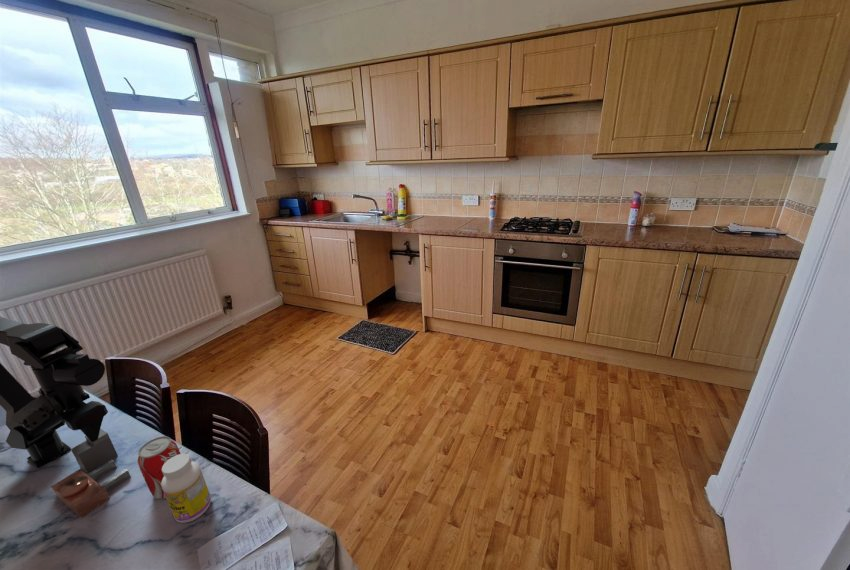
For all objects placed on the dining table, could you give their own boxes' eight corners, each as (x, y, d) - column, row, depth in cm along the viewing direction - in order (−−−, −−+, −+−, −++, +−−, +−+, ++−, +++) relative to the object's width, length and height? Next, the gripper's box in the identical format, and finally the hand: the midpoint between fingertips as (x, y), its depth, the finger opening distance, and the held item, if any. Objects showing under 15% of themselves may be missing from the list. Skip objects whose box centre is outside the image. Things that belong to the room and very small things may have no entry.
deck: (56, 496, 78) (48, 483, 76) (110, 462, 86) (104, 450, 85) (81, 518, 72) (73, 504, 71) (135, 480, 81) (129, 467, 79)
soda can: (171, 504, 74) (153, 461, 70) (144, 499, 76) (125, 457, 72) (197, 476, 81) (182, 435, 77) (172, 472, 82) (156, 432, 78)
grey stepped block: (80, 468, 85) (68, 445, 82) (110, 450, 90) (99, 428, 87) (88, 473, 83) (76, 450, 81) (117, 455, 88) (107, 433, 86)
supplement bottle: (168, 517, 72) (147, 470, 67) (199, 490, 77) (182, 445, 73) (188, 529, 69) (168, 482, 65) (218, 501, 75) (202, 455, 70)
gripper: (-9, 390, 75) (23, 446, 81) (24, 414, 67) (57, 475, 73) (59, 363, 85) (84, 415, 90) (95, 382, 77) (120, 437, 82)
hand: (85, 434), depth 83 cm, fingers open, 9 cm apart
